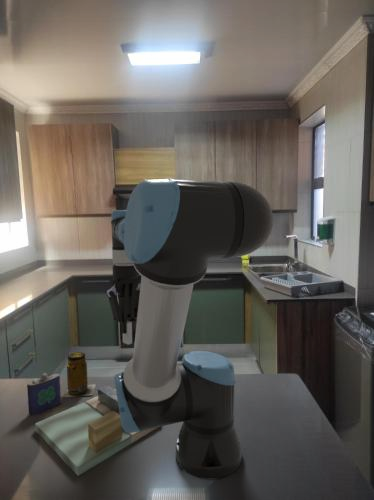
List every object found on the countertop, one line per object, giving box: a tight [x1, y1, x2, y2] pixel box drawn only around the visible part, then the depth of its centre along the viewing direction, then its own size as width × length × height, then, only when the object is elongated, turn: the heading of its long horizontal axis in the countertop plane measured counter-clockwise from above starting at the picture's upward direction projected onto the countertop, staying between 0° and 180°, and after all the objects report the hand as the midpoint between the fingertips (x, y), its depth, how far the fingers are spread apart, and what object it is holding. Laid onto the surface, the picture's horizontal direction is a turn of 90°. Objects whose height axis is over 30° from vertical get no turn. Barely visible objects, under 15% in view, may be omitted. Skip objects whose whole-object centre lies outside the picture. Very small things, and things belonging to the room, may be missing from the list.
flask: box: [26, 372, 62, 418], centre depth 94 cm, size 9×3×11 cm, turn 138°
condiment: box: [63, 351, 97, 398], centre depth 104 cm, size 7×8×12 cm
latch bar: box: [97, 384, 120, 415], centre depth 90 cm, size 15×4×4 cm, turn 46°
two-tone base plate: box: [34, 388, 159, 477], centre depth 86 cm, size 22×24×8 cm
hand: (127, 342), depth 97 cm, fingers closed
